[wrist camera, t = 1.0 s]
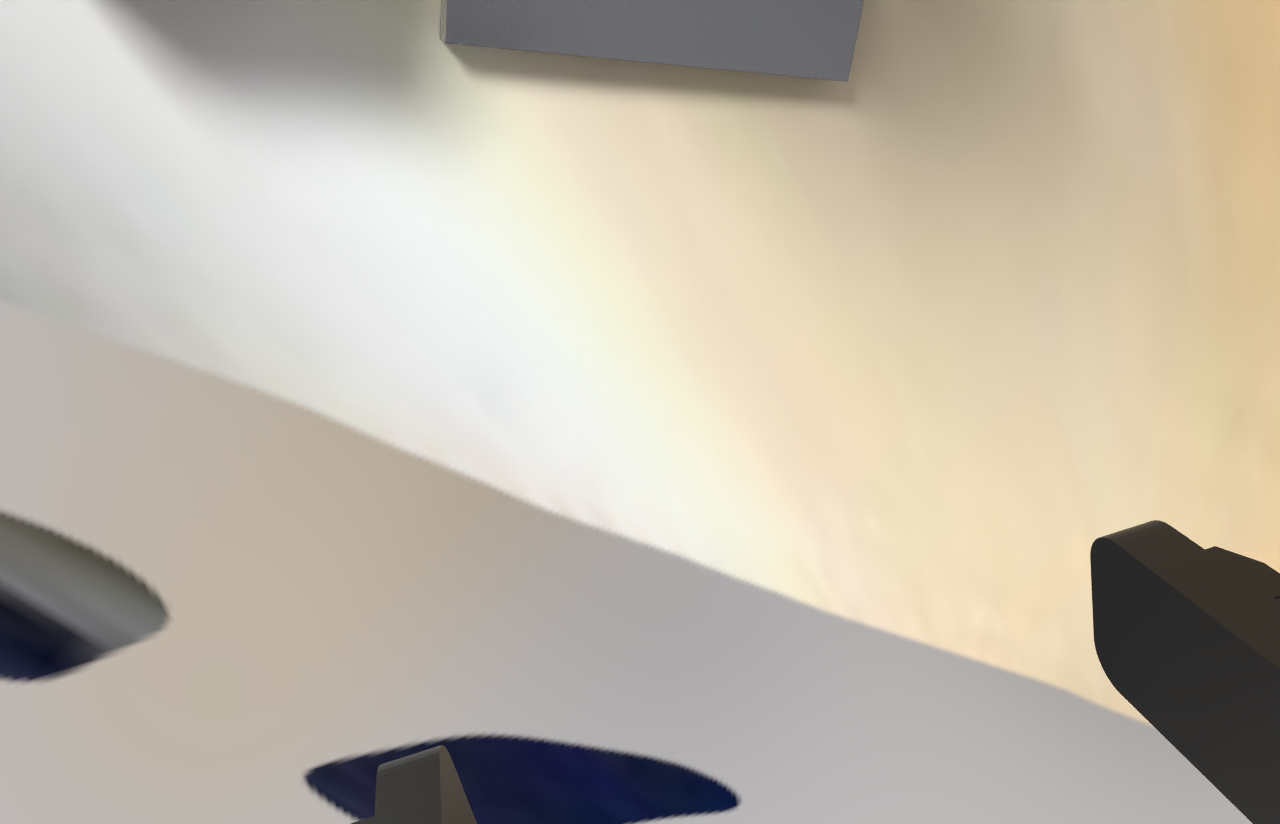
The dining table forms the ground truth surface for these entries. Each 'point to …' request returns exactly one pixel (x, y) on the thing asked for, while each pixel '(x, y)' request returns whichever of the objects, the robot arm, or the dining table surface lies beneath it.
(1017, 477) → the dining table surface
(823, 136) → the dining table surface
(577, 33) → the grey square base plate
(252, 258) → the dining table surface
